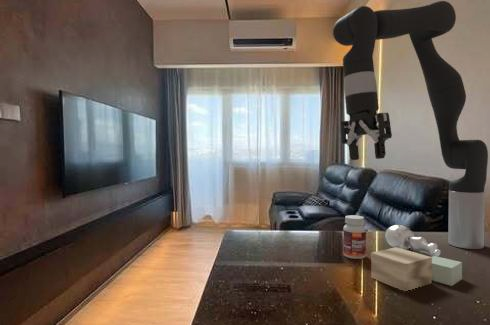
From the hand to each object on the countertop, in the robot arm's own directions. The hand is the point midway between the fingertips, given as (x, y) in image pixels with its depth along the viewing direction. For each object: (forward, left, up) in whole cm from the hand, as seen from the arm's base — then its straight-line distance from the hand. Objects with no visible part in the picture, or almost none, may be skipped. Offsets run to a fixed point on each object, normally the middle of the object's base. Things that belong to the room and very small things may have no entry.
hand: (366, 159), depth 79 cm
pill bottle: (-7, -10, -28) cm, 31 cm away
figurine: (-23, -4, -28) cm, 37 cm away
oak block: (-2, +8, -28) cm, 29 cm away
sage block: (-12, +12, -28) cm, 33 cm away
